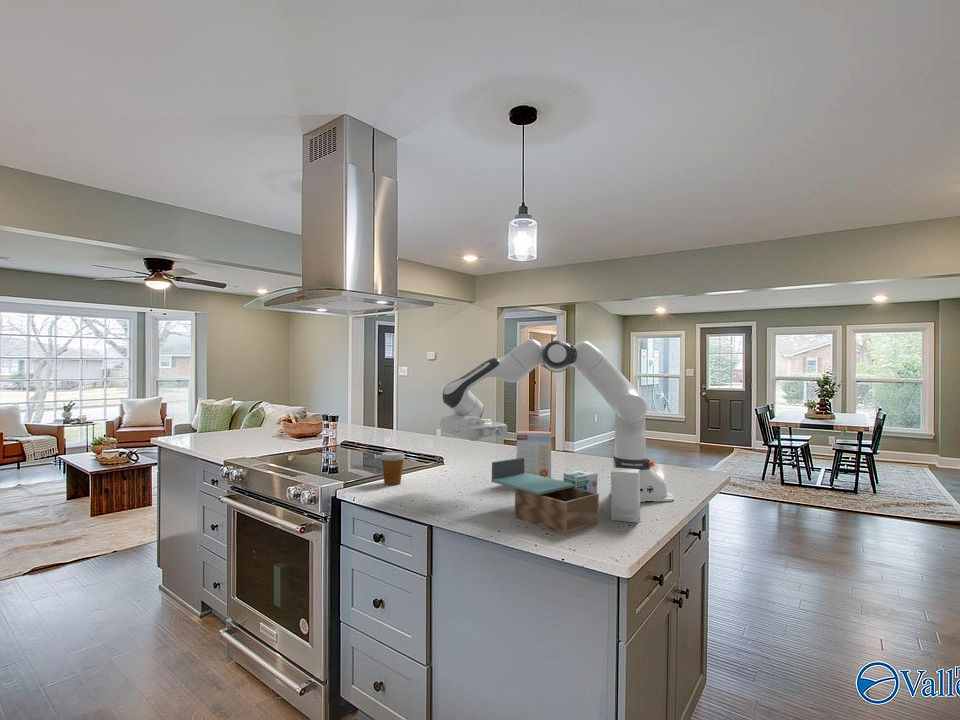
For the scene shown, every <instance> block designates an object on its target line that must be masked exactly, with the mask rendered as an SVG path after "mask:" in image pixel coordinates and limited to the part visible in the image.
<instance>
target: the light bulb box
mask: <svg viewBox="0 0 960 720" xmlns="http://www.w3.org/2000/svg"><path fill="white" fill-rule="evenodd" d="M563 481H564V482H568V483H572V484H575V487H573V488H577V489H581V490H585V491H589V492H593V493H597V494H598V473H597V472H594V471H593V472H592V471H588V470H585V469H582V470H578V471H570V472H564V473H563Z"/></svg>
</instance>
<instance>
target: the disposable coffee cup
mask: <svg viewBox="0 0 960 720" xmlns="http://www.w3.org/2000/svg"><path fill="white" fill-rule="evenodd" d="M380 458H381V459H380V460H381V465H382V473H383V482H384V483H385V484H384V483H383V484H384V485H386V484H389V485H388V486H397V484H398V485H400V484H401V483H402V482H401V481H402V475H403V469H404V468H403V467H404V461H405V458H406V456H405V453H404V452H403V451H394V450H393V451H391V450H390V451H384V452H382V453H381V455H380Z"/></svg>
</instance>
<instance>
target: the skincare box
mask: <svg viewBox="0 0 960 720" xmlns="http://www.w3.org/2000/svg"><path fill="white" fill-rule="evenodd" d="M610 490H611V495H610V501H611V503H610V505H611V506H610V507H611V511H610V512H611V515H610V516H611V521H617V522H625V523H626V522H627V523H632V524H633V523H634V524H638V523H639V521H640V520H641V519H640V518H641V502H640V469H627V468H614V469H613V468H612V469H611V471H610Z"/></svg>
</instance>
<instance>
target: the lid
mask: <svg viewBox="0 0 960 720" xmlns="http://www.w3.org/2000/svg"><path fill="white" fill-rule="evenodd" d="M491 483H494V484H498V485H502V486H505V487H509V488H512V489H514V490H515V489H519V490H523V491H526V492H530V493H533V494H537V495H542V494H546V493H550V492H554V491H559V490H563V489H567V488H571V487H575V484H572V483H568V482H564V480H563V481H562V480H559V479H555V478H552V477H551V478H547V477H543V476H539V475H534V474H530V473H524V458H517V457H516V458H511V459H505V460H499V461H492V462H491Z"/></svg>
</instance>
